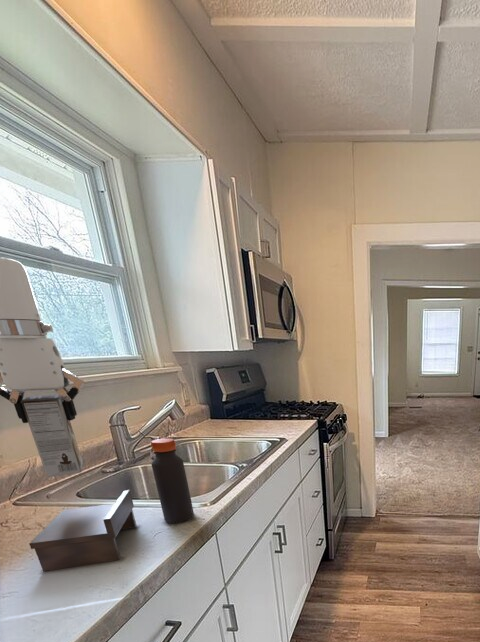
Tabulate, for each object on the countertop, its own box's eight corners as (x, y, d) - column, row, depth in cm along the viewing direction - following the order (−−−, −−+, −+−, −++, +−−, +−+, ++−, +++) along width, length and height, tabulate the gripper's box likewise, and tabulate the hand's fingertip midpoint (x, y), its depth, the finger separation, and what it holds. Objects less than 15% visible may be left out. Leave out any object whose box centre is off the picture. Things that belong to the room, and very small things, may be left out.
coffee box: (50, 467, 93) (25, 395, 86) (83, 463, 96) (62, 393, 90) (46, 477, 86) (19, 400, 79) (82, 472, 89) (59, 398, 83)
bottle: (181, 511, 106) (165, 436, 98) (200, 515, 103) (184, 438, 95) (158, 521, 100) (139, 442, 92) (177, 526, 97) (159, 445, 90)
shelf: (40, 571, 78) (23, 529, 74) (71, 534, 94) (58, 497, 90) (122, 559, 82) (110, 518, 79) (139, 525, 98) (129, 489, 94)
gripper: (78, 331, 86) (101, 415, 93) (-25, 331, 80) (8, 420, 87) (66, 330, 79) (92, 420, 86) (-47, 329, 73) (-9, 426, 80)
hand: (49, 420), depth 86 cm, fingers closed on coffee box, 7 cm apart
